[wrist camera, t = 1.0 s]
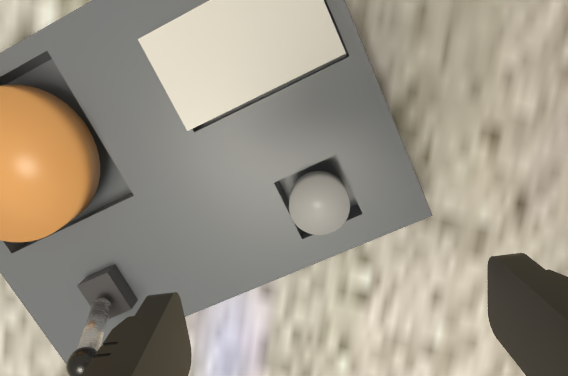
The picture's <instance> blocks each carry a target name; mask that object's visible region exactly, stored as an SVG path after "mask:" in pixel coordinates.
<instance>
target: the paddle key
mask: <svg viewBox="0 0 568 376" xmlns="http://www.w3.org/2000/svg"><path fill="white" fill-rule="evenodd" d="M138 41H139V43H140V44H141V46H142V48H143V50H144V52H145V54H146V56H147V57H148V59H149V61H150V63H151V65H152V67H153V68H154V70H155V72H156V74H157V76H158V78H159V80H160V81H161V83H162V85H163V87H164V89H165V91H166V93H167V94H168V96H169V98H170V100H171V102H172V104H173V106H174V107H175V109H176V111H177V113H178V115H179V117H180V118H181V120H182V122H183V124H184V126H185V128H186V130H187V131H189V130H191V129H193V128H195V127H197V126H199V125H201V124H203V123H205V122H207V121H209V120H211V119H213V118H215V117H217V116H219V115H221V114H223V113H226V112H228V111H230V110H232V109H234V108H236V107H238V106H240V105H242V104H244V103H246V102H248V101H250V100H252V99H254V98H256V97H258V96H260V95H262V94H264V93H266V92H268V91H270V90H272V89H274V88H276V87H278V86H280V85H283V84H285V83H287V82H289V81H291V80H293V79H295V78H297V77H299V76H301V75H303V74H305V73H307V72H309V71H311V70H313V69H315V68H317V67H319V66H321V65H323V64H325V63H327V62H329V61H331V60H333V59H335V58H338V57H340V56H342V55H344V54H346V52H345V50H344V47H343V45H342V43H341V40H340V38H339V36H338V33H337V31H336V28H335V26H334V24H333V21H332V19H331V16H330V14H329V12H328V9H327V7H326V5H325V2H324V0H209V1H207V2H205V3H203V4H202V5H200V6H198V7H196V8H194V9H192V10H191V11H189V12H187V13H185V14H183V15H181V16H180V17H178V18H176V19H174V20H172V21H170V22H169V23H167V24H165V25H163V26H161V27H159V28H158V29H156V30H154V31H152V32H150V33H148V34H146V35H145V36H143V37H141V38H139V39H138Z"/></svg>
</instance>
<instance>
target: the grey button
mask: <svg viewBox="0 0 568 376" xmlns="http://www.w3.org/2000/svg"><path fill="white" fill-rule="evenodd" d="M349 211H350V201H349V197H348V194H347V191H346V188H345V186H344V184H343V183H342V181H341V180H340V179H339V178H338V177H336V176H335V175H333V174H331V173H329V172H326V171H312V172H309V173H306V174H304V175H303V176H301V177H300V178H299V179H298V180H297V181H296V182H295V183H294V185H293V187H292V189H291V192H290V200H289V212H290V216H291V218H292V220H293V222H294V223H295V224H296V225H297V226H298V227H299V228H300V229H301V230H303V231H304V232H307V233H309V234H313V235H325V234H329V233H332V232H334V231H336V230H337V229H339V228H340V227H341V226H342V225H343V224H344V223H345V221H346V219H347V218H348V215H349Z"/></svg>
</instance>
